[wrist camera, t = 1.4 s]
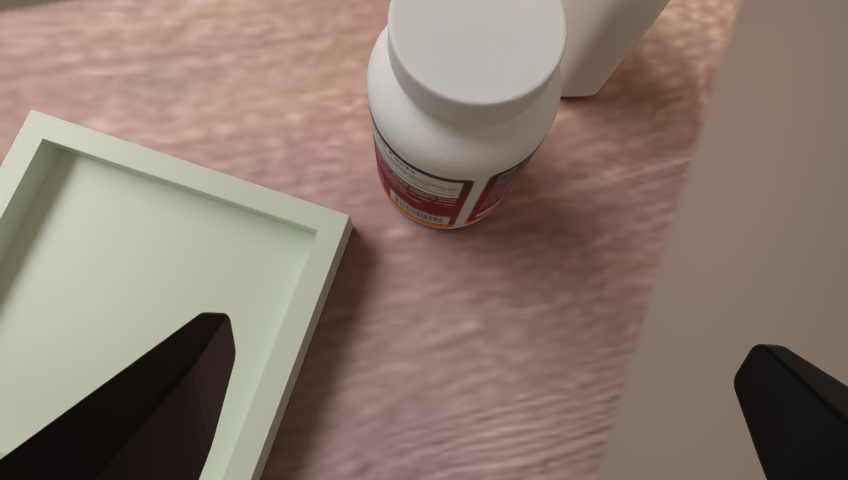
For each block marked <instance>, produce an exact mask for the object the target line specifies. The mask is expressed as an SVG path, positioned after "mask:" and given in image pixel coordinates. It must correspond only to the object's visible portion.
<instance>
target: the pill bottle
mask: <svg viewBox="0 0 848 480" xmlns="http://www.w3.org/2000/svg"><path fill="white" fill-rule="evenodd" d="M566 42H567V19H566V13H565V10H564V7H563V4H562V1H561V0H391V4H390V7H389V14H388V25H387V26H386V27H385V29H384V30H383V31H382V33H381V35H380V36H379V38H378V40H377V42H376V44H375V46H374V49H373V51H372V54H371V57H370V61H369V66H368V72H367V90H368V102H369V110H370V117H371V123H372V131H373V137H374V144H375V152H376V159H377V167H378V173H379V177H380V181H381V183H382V186H383V188H384V191H385V192H386V194H387V196H388V198H389V199H390V201H391V202H392V203H393V204H394V206H395V207H396V208H397V209H398V210H399V211H400V212H402V213H403V214H404V215H405V216H407V217H408V218H410V219H411V220H413V221H415V222H417V223H420V224H422V225H425V226H428V227H433V228H440V229H453V228H460V227H464V226H467V225H470V224H473V223H475V222H477V221H479V220H480V219H482V218H483V217H485V216H486V215H487V214H489V213H490V212H491V211H492V210H493V209H494V208H495V207H496V206H497V205H498V204H499V203H500V202H501V201H502V199H503V198H504V197H505V195H506V194H507V192H508V190H509V189H510V188H511V186H512V185H513V183H514V181H515V180H516V179H517V177H518V176H519V174H520V173H521V171H522V170H523V168H524V167H525V166H526V164H527V163H528V162H529V160H530V158H531V157H532V155H533V154H534V153H535V151H536V150H537V148H538V147H539V146H540V144H541V143H542V141H543V140H544V138H545V137H546V135H547V133H548V131H549V129H550V128H551V126H552V124H553V121H554V119H555V117H556V114H557V111H558V107H559V103H560V98H561V72H560V66H559V64H560V62H561V60H562V57H563V55H564V52H565V47H566Z"/></svg>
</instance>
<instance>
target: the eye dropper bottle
mask: <svg viewBox="0 0 848 480" xmlns="http://www.w3.org/2000/svg"><path fill="white" fill-rule="evenodd" d="M561 1H562V4H563V7H564V10H565V13H566V19H567V42H566V47H565V52H564V55H563V57H562V60H561V62H560V64H559V66H560V72H561V96H562V97H576V96H591V95H594V94H596V93H597V92H598V91H599V90H600V89H601V87H602V86H603V85H604V84H605V83H606V81H607V80H608V79H609V78H610V76H611V75H612V74H613V73H614V71H615V70H616V69H617V68H618V66H619V65H620V64H621V63H622V61H623V60H624V59H625V58H626V56H627V55H628V54H629V53H630V51H631V50H632V49H633V48H634V46H635V45H636V44H637V43H638V41H639V40H640V39H641V38H642V36H643V35H644V34H645V32H646V31H647V30H648V29H649V27H650V26H651V25H652V24H653V22H654V21H655V20H656V19H657V17H658V16H659V15H660V13H661V12H662V11H663V9H664V8H665V7H666V5H667V4H668V3H669V1H670V0H561Z"/></svg>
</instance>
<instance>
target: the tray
mask: <svg viewBox="0 0 848 480" xmlns="http://www.w3.org/2000/svg"><path fill="white" fill-rule="evenodd" d="M352 229H353V224H352V221H351V218H350V216H349V215H347V214H344V213H341V212H338V211H335V210H332V209H329V208H326V207H323V206H320V205H317V204H314V203H311V202H308V201H305V200H302V199H299V198H296V197H293V196H290V195H287V194H284V193H281V192H278V191H275V190H272V189H269V188H266V187H263V186H260V185H257V184H254V183H251V182H248V181H245V180H242V179H238V178H235V177H232V176H229V175H226V174H223V173H220V172H217V171H214V170H211V169H208V168H205V167H202V166H199V165H196V164H193V163H190V162H187V161H184V160H181V159H178V158H175V157H172V156H169V155H166V154H163V153H160V152H157V151H154V150H151V149H148V148H145V147H142V146H139V145H136V144H133V143H130V142H127V141H124V140H121V139H118V138H115V137H112V136H109V135H106V134H103V133H100V132H97V131H94V130H91V129H88V128H85V127H82V126H79V125H76V124H73V123H70V122H67V121H64V120H61V119H58V118H55V117H52V116H49V115H46V114H43V113H40V112H37V111H34V110H31V111H30V113H29V115H28V117H27V119H26V121H25V123H24V124H23V126H22V128H21V130H20V132H19V134H18V136H17V137H16V139H15V141H14V143H13V145H12V147H11V149H10V150H9V152H8V154H7V156H6V158H5V160H4V161H3V163H2V165H1V167H0V459H1V458H3V457H4V456H5V455H7V454H8V453H9V452H11V451H12V450H14V449H15V448H16V447H18V446H19V445H20V444H22V443H23V442H25V441H26V440H27V439H29V438H30V437H31V436H33V435H34V434H36V433H37V432H38V431H40V430H41V429H42V428H44V427H45V426H46V425H48V424H49V423H51V422H52V421H53V420H55V419H56V418H57V417H59V416H60V415H62V414H63V413H64V412H66V411H67V410H68V409H70V408H71V407H72V406H74V405H75V404H77V403H78V402H79V401H81V400H82V399H83V398H85V397H86V396H88V395H89V394H90V393H92V392H93V391H94V390H96V389H97V388H99V387H100V386H101V385H103V384H104V383H105V382H107V381H108V380H109V379H111V378H112V377H114V376H115V375H116V374H118V373H119V372H120V371H122V370H123V369H125V368H126V367H127V366H129V365H130V364H131V363H133V362H134V361H135V360H137V359H138V358H140V357H141V356H142V355H144V354H145V353H146V352H148V351H149V350H151V349H152V348H153V347H155V346H156V345H157V344H159V343H160V342H162V341H163V340H164V339H166V338H167V337H168V336H170V335H171V334H172V333H174V332H175V331H177V330H178V329H179V328H181V327H182V326H183V325H185V324H186V323H188V322H189V321H190V320H192V319H193V318H194V317H196V316H197V315H199V314H200V313H203V312H217V313H226V314H227V315H228V316H229V317H230V320H231V326H232V331H233V337H234V342H235V348H236V355H235V362H234V366H233V370H232V373H231V377H230V381H229V385H228V388H227V392H226V396H225V399H224V403H223V407H222V411H221V414H220V418H219V422H218V426H217V429H216V433H215V436H214V440H213V443H212V447H211V449H210V452H209V455H208V458H207V460H206V463H205V466H204V468H203V471H202V473H201V476H200V478H199V480H260V478H261V475H262V473H263V470H264V467H265V465H266V462H267V459H268V456H269V454H270V451H271V448H272V446H273V443H274V440H275V437H276V435H277V432H278V429H279V427H280V424H281V421H282V418H283V416H284V413H285V410H286V408H287V405H288V402H289V400H290V397H291V394H292V391H293V389H294V386H295V383H296V381H297V378H298V375H299V372H300V370H301V367H302V364H303V362H304V359H305V356H306V353H307V351H308V348H309V345H310V343H311V340H312V337H313V334H314V332H315V329H316V326H317V324H318V321H319V318H320V316H321V313H322V310H323V307H324V305H325V302H326V299H327V297H328V294H329V291H330V288H331V286H332V283H333V280H334V278H335V275H336V272H337V269H338V267H339V264H340V261H341V259H342V256H343V253H344V250H345V248H346V245H347V242H348V240H349V237H350V234H351V232H352Z"/></svg>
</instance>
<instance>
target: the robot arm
mask: <svg viewBox="0 0 848 480" xmlns="http://www.w3.org/2000/svg"><path fill="white" fill-rule="evenodd" d="M235 355H236V348H235V342H234V337H233V331H232V326H231V320H230V317H229V316H228V315H227V314H226V313H217V312H203V313H200V314H199V315H197V316H196V317H194V318H193V319H192V320H190V321H189V322H188V323H186V324H185V325H183V326H182V327H181V328H179V329H178V330H177V331H175V332H174V333H172V334H171V335H170V336H168V337H167V338H166V339H164V340H163V341H162V342H160V343H159V344H157V345H156V346H155V347H153V348H152V349H151V350H149V351H148V352H146V353H145V354H144V355H142V356H141V357H140V358H138V359H137V360H135V361H134V362H133V363H131V364H130V365H129V366H127V367H126V368H125V369H123V370H122V371H120V372H119V373H118V374H116V375H115V376H114V377H112V378H111V379H109V380H108V381H107V382H105V383H104V384H103V385H101V386H100V387H99V388H97V389H96V390H94V391H93V392H92V393H90V394H89V395H88V396H86V397H85V398H83V399H82V400H81V401H79V402H78V403H77V404H75V405H74V406H72V407H71V408H70V409H68V410H67V411H66V412H64V413H63V414H62V415H60V416H59V417H57V418H56V419H55V420H53V421H52V422H51V423H49V424H48V425H46V426H45V427H44V428H42V429H41V430H40V431H38V432H37V433H36V434H34V435H33V436H31V437H30V438H29V439H27V440H26V441H25V442H23V443H22V444H20V445H19V446H18V447H16V448H15V449H14V450H12V451H11V452H9V453H8V454H7V455H5V456H4V457H3V458H1V459H0V480H199V478H200V476H201V473H202V471H203V468H204V466H205V463H206V460H207V458H208V455H209V452H210V449H211V447H212V443H213V440H214V436H215V433H216V429H217V426H218V422H219V418H220V414H221V411H222V407H223V403H224V399H225V396H226V392H227V388H228V385H229V381H230V377H231V373H232V370H233V366H234V362H235ZM734 388H735V391H736V395H737V397H738V400H739V403H740V406H741V409H742V412H743V415H744V417H745V420H746V423H747V426H748V429H749V432H750V435H751V438H752V440H753V443H754V446H755V449H756V452H757V455H758V457H759V460H760V463H761V466H762V468H763V471H764V473H765V476H766V478H767V480H848V386H846V385H844V384H843V383H841V382H840V381H838V380H836V379H835V378H833V377H832V376H830V375H828V374H827V373H825V372H824V371H822V370H820V369H819V368H817V367H816V366H814V365H813V364H811V363H809V362H808V361H806V360H805V359H803V358H801V357H800V356H798V355H797V354H795V353H793V352H792V351H790V350H788V349H787V348H785V347H783V346H779V345H767V344H759V345H756V346H754V347H753V348H752V349H751V350H750V352H749V354H748V355H747V357H746V359H745V360H744V362H743V364H742V365H741V367H740V369H739V370H738V372H737V373H736V376H735V379H734Z"/></svg>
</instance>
